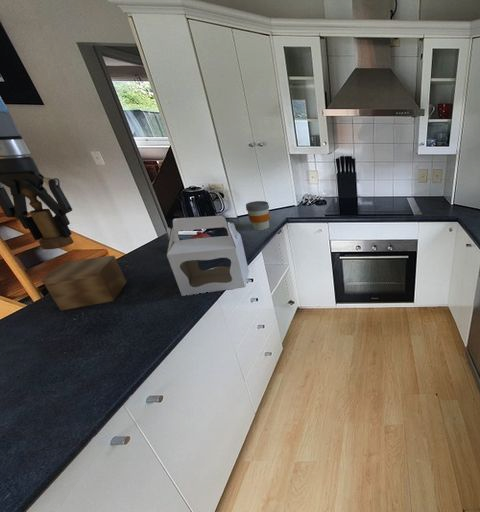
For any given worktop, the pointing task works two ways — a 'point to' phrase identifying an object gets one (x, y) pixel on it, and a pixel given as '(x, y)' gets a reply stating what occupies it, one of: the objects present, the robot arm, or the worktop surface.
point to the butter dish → (200, 235)
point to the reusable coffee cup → (258, 214)
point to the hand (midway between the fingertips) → (53, 236)
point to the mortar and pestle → (46, 224)
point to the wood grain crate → (85, 282)
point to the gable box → (206, 256)
